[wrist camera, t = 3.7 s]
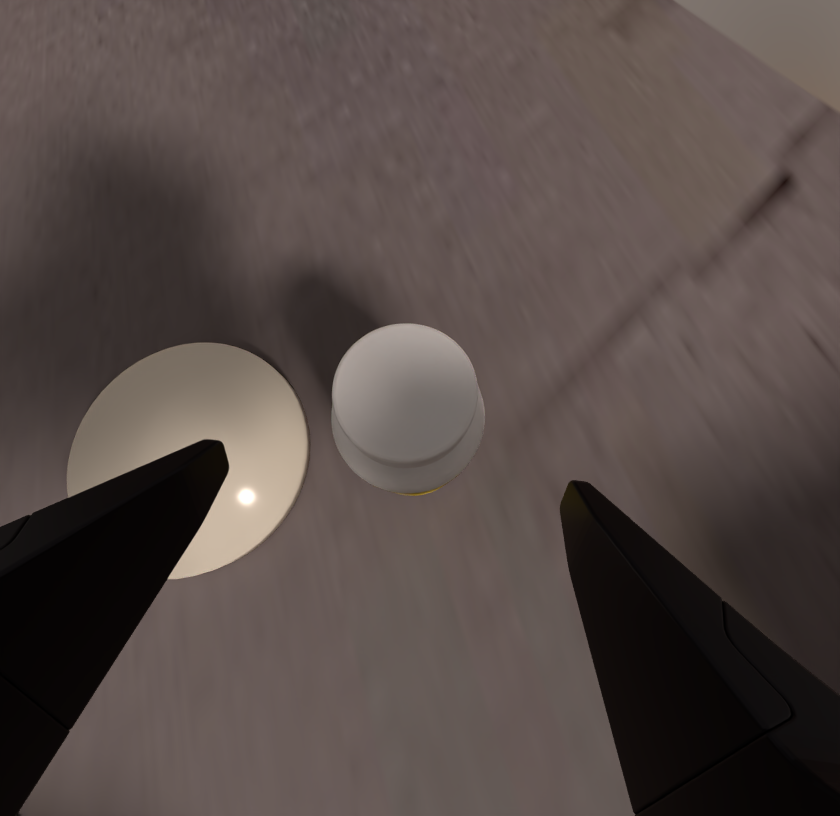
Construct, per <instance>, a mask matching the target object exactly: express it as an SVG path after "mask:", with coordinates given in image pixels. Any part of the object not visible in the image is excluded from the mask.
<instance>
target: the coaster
mask: <svg viewBox="0 0 840 816" xmlns="http://www.w3.org/2000/svg"><path fill="white" fill-rule="evenodd" d="M203 439H212V440H219V441H221V442H222V443H223V444H224V447H225V451H226V454H227V458H228V462H229V472H228V474H227V476H226V478H225V480H224V482H223V484H222V486H221V488H220V490H219V492H218V494H217V496H216V498H215V500H214V502H213V504H212V506H211V508H210V510H209V512H208V514H207V516H206V518H205V520H204V522H203V523H202V525H201V527H200V529H199V530H198V532H197V533H196V535H195V537H194V538H193V540H192V541H191V543H190V544H189V546H188V548H187V549H186V551H185V552H184V554H183V555H182V557H181V558H180V560H179V562H178V563H177V565H176V566H175V568H174V569H173V571H172V573H171V574H170V576H169V577H168V579H179V578H185V577H192V576H196V575H199V574H202V573H206V572H209V571H212V570H215V569H218V568H221V567H223V566H226V565H228V564H230V563H232V562H234V561H237V560H238V559H240V558H242V557H243V556H245V555H247V554H248V553H250V552H252V551H253V550H254V549H256V548H257V547H258V546H259V545H261V544H262V543H263V542H264V541H266V540H267V539H268V538H269V537H270V536H271V535H272V534H273V533H274V532H275V531H276V530H277V528H278V527H279V526H280V525H281V523H282V522H283V521H284V519H285V518H286V517H287V515H288V514H289V512H290V511H291V509H292V507H293V506H294V504H295V502H296V500H297V498H298V496H299V494H300V491H301V489H302V487H303V484H304V481H305V477H306V474H307V470H308V464H309V459H310V431H309V426H308V421H307V416H306V413H305V411H304V408H303V405H302V403H301V401H300V399H299V397H298V395H297V394H296V392H295V390H294V389H293V388H292V386H291V385H290V384H289V382H288V381H287V380H286V379H285V378H284V377H283V376H282V375H281V374H280V373H279V372H278V371H277V370H275V369H274V368H273V367H272V366H271V365H269V364H268V363H267V362H265V361H264V360H263V359H261V358H260V357H258V356H256V355H254V354H252V353H250V352H249V351H246V350H243V349H241V348H238V347H235V346H230V345H226V344H220V343H210V342H207V343H190V344H183V345H178V346H174V347H171V348H167V349H164V350H161V351H159V352H156V353H154V354H151V355H149V356H148V357H146V358H144V359H142V360H140V361H138V362H137V363H135V364H133V365H132V366H130V367H129V368H127V369H126V370H125V371H123V372H122V373H121V374H120V375H119V376H117V377H116V378H115V379H114V380H113V381H112V382H111V383H110V384H109V385H108V386H107V387H106V388H105V389H104V390H103V391H102V392H101V393H100V395H99V396H98V397H97V398H96V400H95V401H94V402H93V403H92V405H91V406H90V408H89V410H88V411H87V413H86V414H85V416H84V418H83V420H82V422H81V424H80V426H79V428H78V430H77V432H76V435H75V438H74V441H73V444H72V447H71V451H70V456H69V460H68V469H67V493H68V498H69V497H71V496H73V495H76V494H78V493H80V492H83V491H85V490H87V489H90V488H92V487H94V486H97V485H99V484H101V483H104V482H106V481H108V480H110V479H113V478H115V477H117V476H120V475H122V474H124V473H127V472H129V471H131V470H134V469H136V468H138V467H141V466H143V465H145V464H147V463H150V462H152V461H154V460H157V459H159V458H161V457H164V456H166V455H168V454H171V453H173V452H175V451H178V450H180V449H182V448H185V447H187V446H189V445H191V444H194V443H196V442H198V441H201V440H203Z"/></svg>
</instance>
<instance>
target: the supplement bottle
mask: <svg viewBox="0 0 840 816" xmlns="http://www.w3.org/2000/svg"><path fill="white" fill-rule="evenodd" d="M332 403H333V405H332V413H331V424H332V432H333V436H334V440H335V443H336V446H337V448H338V450H339V452H340V454H341V456H342V457H343V459H344V461H345V462H346V463H347V465H348V466H349V467H350V468H351V469H352V470H353V471H354V472H355V473H356V474H357V475H358V476H359V477H361V478H362V479H363V480H365V481H366V482H368V483H370V484H371V485H373V486H375V487H377V488H380V489H383V490H386V491H389V492H394V493H397V494H401V495H407V496H417V495H423V494H427V493H431V492H433V491H436V490H438V489H439V488H441V487H443V486H444V485H445V484H447V483H449V482H450V481H452V480H453V479H454V478H456V477H457V476H458V475H459V474H460V473H461V472H462V471H463V470H464V469H465V468H466V467H467V465H468V464H469V463H470V461H471V460H472V458H473V457H474V455H475V453H476V451H477V449H478V447H479V445H480V442H481V439H482V436H483V431H484V424H485V410H484V403H483V399H482V395H481V392H480V389H479V387H478V384H477V378H476V374H475V371H474V368H473V366H472V363H471V362H470V360H469V358H468V356H467V355H466V353H465V352H464V351H463V349H462V348H461V347H460V346H459V345H458V344H457V343H456V342H455V341H454V340H452V339H451V338H450V337H449V336H447V335H445V334H444V333H442V332H440V331H438V330H436V329H433V328H431V327H427V326H424V325H418V324H412V323H402V324H393V325H388V326H384V327H381V328H378V329H376V330H374V331H372V332H370V333H368V334H366V335H365V336H363V337H362V338H361V339H359V340H358V341H357V342H355V343H354V344H353V345H352V346H351V347H350V349H349V350H348V351H347V352H346V354H345V355H344V356H343V358H342V359H341V361H340V363H339V365H338V367H337V370H336V373H335V376H334V380H333V386H332Z"/></svg>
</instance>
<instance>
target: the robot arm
mask: <svg viewBox="0 0 840 816" xmlns="http://www.w3.org/2000/svg"><path fill="white" fill-rule="evenodd" d="M228 472H229V462H228V458H227V454H226V451H225V447H224V444H223V443H222V442H221V441H219V440H212V439H203V440H201V441H198V442H196V443H194V444H191V445H189V446H187V447H185V448H182V449H180V450H178V451H175V452H173V453H171V454H168V455H166V456H164V457H161V458H159V459H157V460H154V461H152V462H150V463H147V464H145V465H143V466H141V467H138V468H136V469H134V470H131V471H129V472H127V473H124V474H122V475H120V476H117V477H115V478H113V479H110V480H108V481H106V482H104V483H101V484H99V485H97V486H94V487H92V488H90V489H87V490H85V491H83V492H80V493H78V494H76V495H73V496H71V497H69V498H66V499H64V500H62V501H60V502H57V503H55V504H53V505H50V506H48V507H46V508H43V509H41V510H39V511H36V512H34V513H33V514H32V515H27V516H25V517H22V518H20V519H18V520H15V521H13V522H11V523H8V524H6V525H4V526H1V527H0V816H16V815H17V813H18V812H19V810H20V809H21V807H22V806H23V804H24V802H25V801H26V799H27V798H28V796H29V795H30V793H31V792H32V790H33V788H34V787H35V785H36V784H37V782H38V781H39V779H40V778H41V776H42V774H43V773H44V771H45V770H46V768H47V767H48V765H49V763H50V762H51V760H52V759H53V757H54V756H55V754H56V753H57V751H58V749H59V748H60V746H61V745H62V743H63V742H64V740H65V739H66V737H67V735H68V734H69V730H70V729H71V728H72V727H73V726H74V724H75V722H76V721H77V719H78V718H79V716H80V715H81V713H82V711H83V710H84V708H85V707H86V705H87V704H88V702H89V701H90V699H91V697H92V696H93V694H94V693H95V691H96V690H97V688H98V686H99V685H100V683H101V682H102V680H103V679H104V677H105V676H106V674H107V672H108V671H109V669H110V668H111V666H112V665H113V663H114V662H115V660H116V658H117V657H118V655H119V654H120V652H121V651H122V649H123V647H124V646H125V644H126V643H127V641H128V640H129V638H130V637H131V635H132V633H133V632H134V630H135V629H136V627H137V626H138V624H139V622H140V621H141V619H142V618H143V616H144V615H145V613H146V612H147V610H148V608H149V607H150V605H151V604H152V602H153V601H154V599H155V597H156V596H157V594H158V593H159V591H160V590H161V588H162V587H163V585H164V583H165V582H166V580H167V579H168V577H169V576H170V574H171V573H172V571H173V569H174V568H175V566H176V565H177V563H178V562H179V560H180V558H181V557H182V555H183V554H184V552H185V551H186V549H187V548H188V546H189V544H190V543H191V541H192V540H193V538H194V537H195V535H196V533H197V532H198V530H199V529H200V527H201V525H202V523H203V522H204V520H205V518H206V516H207V514H208V512H209V510H210V508H211V506H212V504H213V502H214V500H215V498H216V496H217V494H218V492H219V490H220V488H221V486H222V484H223V482H224V480H225V478H226V476H227V474H228ZM560 515H561V522H562V529H563V535H564V542H565V549H566V555H567V562H568V568H569V572H570V576H571V580H572V584H573V588H574V592H575V595H576V599H577V603H578V607H579V610H580V614H581V618H582V622H583V625H584V629H585V633H586V637H587V640H588V644H589V648H590V652H591V655H592V659H593V663H594V667H595V670H596V674H597V678H598V682H599V685H600V689H601V693H602V697H603V700H604V704H605V708H606V712H607V716H608V719H609V723H610V727H611V731H612V734H613V738H614V742H615V746H616V749H617V753H618V757H619V761H620V764H621V768H622V772H623V776H624V779H625V783H626V787H627V791H628V794H629V798H630V802H631V806H632V809H633V812H634V813H635V814H636V815H635V816H840V695H839V694H837V693H836V692H835V691H833V690H832V689H831V688H830V687H828V686H827V685H826V684H825V683H823V682H822V681H821V680H819V679H818V678H817V677H816V676H814V675H813V674H812V673H811V672H809V671H808V670H807V669H806V668H804V667H803V666H802V665H801V664H799V663H798V662H797V661H796V660H794V659H793V658H792V657H791V656H789V655H788V654H787V653H786V652H784V651H783V650H782V649H781V648H780V647H778V646H777V645H776V644H775V643H773V642H772V641H771V640H770V639H769V638H768V637H766V636H765V635H764V634H763V633H762V632H760V631H759V630H758V629H757V628H756V627H755V626H753V625H752V624H751V623H750V622H749V621H747V620H746V619H745V618H744V617H743V616H742V615H740V614H739V613H738V612H737V611H736V610H735V609H734V608H732V607H731V606H730V605H729V604H728V603H727V602H725V601H722V599H721V597H720V596H718V595H717V594H716V593H715V592H714V591H713V590H712V589H710V588H709V587H708V586H707V585H706V584H705V583H704V582H702V581H701V580H700V579H699V578H698V577H697V576H696V575H694V574H693V573H692V572H691V571H690V570H689V569H687V568H686V567H685V566H684V565H683V564H682V563H681V562H679V561H678V560H677V559H676V558H675V557H674V556H673V555H671V554H670V553H669V552H668V551H667V550H666V549H665V548H663V547H662V546H661V545H660V544H659V543H658V542H656V541H655V540H654V539H653V538H652V537H651V536H650V535H648V534H647V533H646V532H645V531H644V530H643V529H642V528H640V527H639V526H638V525H637V524H636V523H635V522H634V521H632V520H631V519H630V518H629V517H628V516H627V515H625V514H624V513H623V512H622V511H621V510H620V509H619V508H617V507H616V506H615V505H614V504H613V503H612V502H611V501H609V500H608V499H607V498H606V497H605V496H604V495H603V494H601V493H600V492H599V491H598V490H597V489H596V488H594V487H593V486H592V485H591V484H590V483H588V482H585V481H576V480H572V481H570V482H569V484H568V486H567V488H566V491H565V493H564V496H563V499H562V501H561V504H560Z"/></svg>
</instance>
